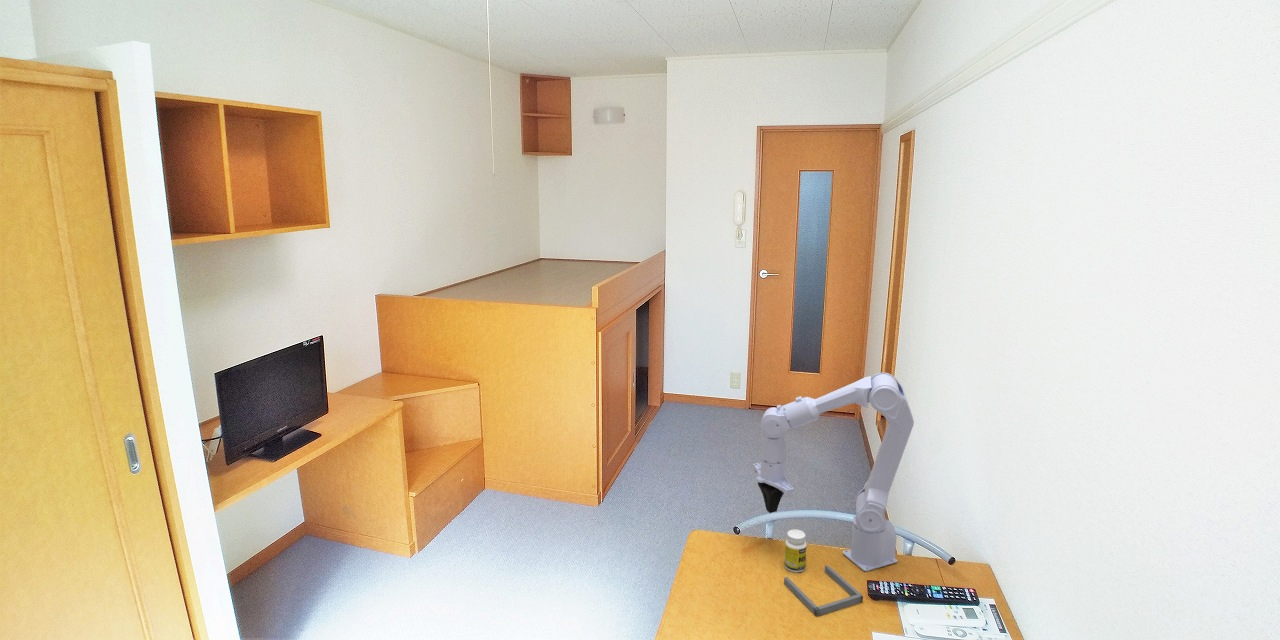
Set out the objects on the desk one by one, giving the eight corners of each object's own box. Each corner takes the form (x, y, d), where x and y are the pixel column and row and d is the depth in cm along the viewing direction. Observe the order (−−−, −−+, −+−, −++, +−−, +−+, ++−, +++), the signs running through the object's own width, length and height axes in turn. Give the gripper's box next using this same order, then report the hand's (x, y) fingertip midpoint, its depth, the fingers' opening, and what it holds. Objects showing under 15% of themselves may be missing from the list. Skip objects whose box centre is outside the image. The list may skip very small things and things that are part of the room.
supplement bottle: (800, 575, 142) (801, 542, 140) (780, 568, 144) (781, 535, 142) (809, 565, 145) (810, 532, 143) (789, 558, 148) (790, 525, 146)
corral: (827, 570, 143) (827, 565, 143) (862, 602, 132) (863, 595, 132) (783, 583, 139) (784, 577, 139) (816, 616, 128) (816, 610, 128)
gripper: (742, 449, 154) (741, 500, 157) (775, 474, 141) (774, 529, 144) (767, 444, 157) (766, 494, 160) (802, 469, 143) (800, 523, 146)
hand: (771, 510), depth 152 cm, fingers closed
